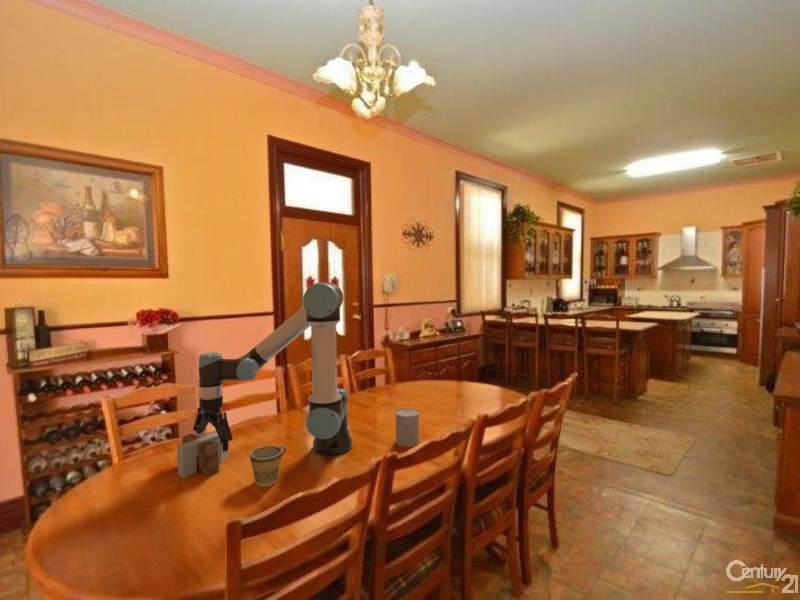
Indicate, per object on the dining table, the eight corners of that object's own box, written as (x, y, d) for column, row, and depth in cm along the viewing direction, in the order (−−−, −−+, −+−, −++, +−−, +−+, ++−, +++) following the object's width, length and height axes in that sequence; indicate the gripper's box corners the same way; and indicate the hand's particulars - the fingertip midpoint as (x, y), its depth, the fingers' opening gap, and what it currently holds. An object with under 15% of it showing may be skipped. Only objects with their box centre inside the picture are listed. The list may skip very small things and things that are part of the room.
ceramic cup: (264, 493, 123) (263, 461, 123) (243, 484, 129) (243, 453, 128) (296, 475, 134) (295, 446, 134) (275, 467, 140) (275, 440, 139)
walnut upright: (218, 472, 137) (217, 443, 136) (209, 476, 134) (208, 447, 133) (192, 460, 145) (191, 433, 145) (182, 464, 142) (182, 436, 142)
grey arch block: (222, 461, 144) (221, 434, 144) (183, 477, 133) (182, 448, 132) (216, 459, 146) (215, 432, 146) (177, 475, 135) (176, 446, 134)
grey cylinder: (422, 440, 164) (422, 410, 163) (413, 449, 155) (413, 418, 155) (401, 436, 168) (401, 407, 167) (391, 444, 159) (391, 414, 159)
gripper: (242, 399, 138) (243, 459, 140) (201, 388, 152) (202, 443, 153) (222, 405, 132) (224, 468, 133) (181, 393, 146) (183, 450, 147)
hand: (212, 455), depth 143 cm, fingers open, 13 cm apart
